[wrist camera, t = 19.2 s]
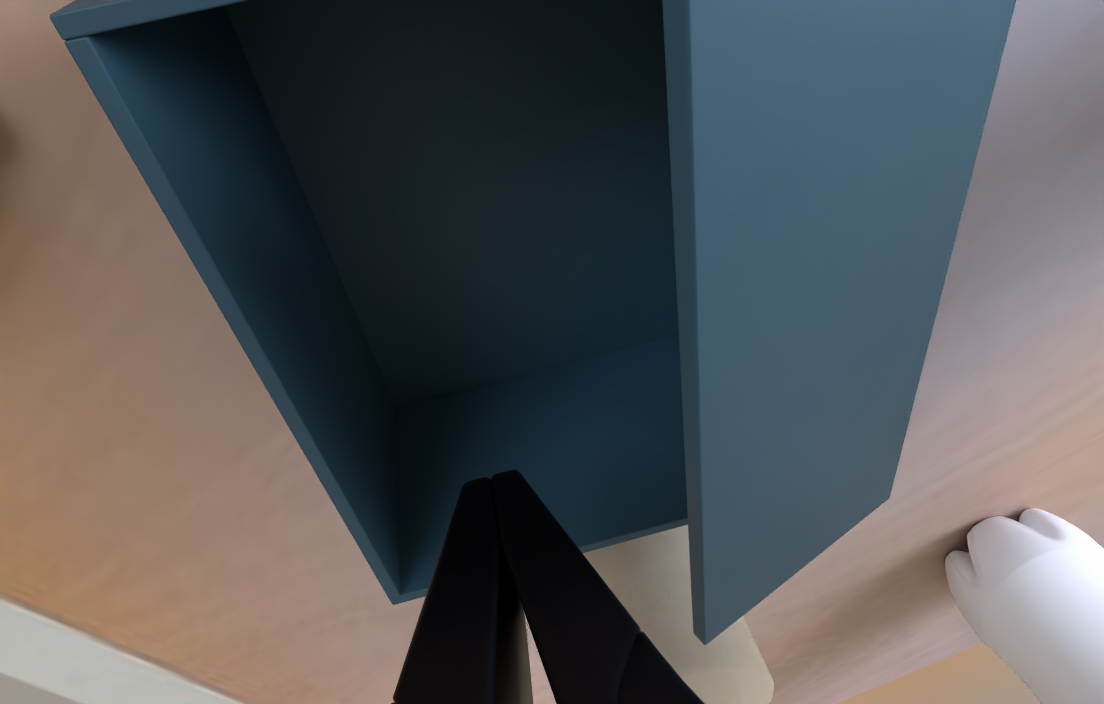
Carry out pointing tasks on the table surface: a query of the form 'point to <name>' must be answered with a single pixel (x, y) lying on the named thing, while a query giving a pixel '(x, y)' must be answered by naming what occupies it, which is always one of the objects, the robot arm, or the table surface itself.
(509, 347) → the carton
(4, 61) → the table surface
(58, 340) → the table surface
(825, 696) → the table surface
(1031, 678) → the water bottle
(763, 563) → the flap
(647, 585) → the candle
